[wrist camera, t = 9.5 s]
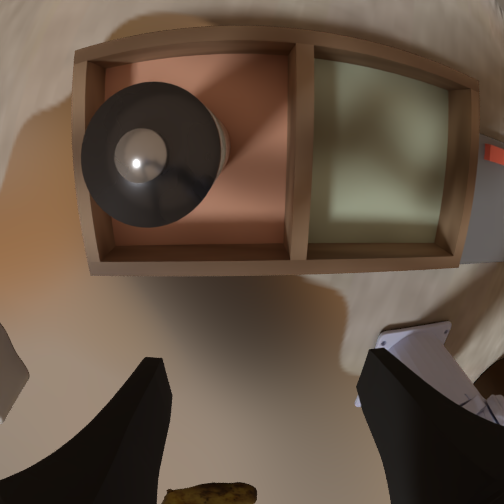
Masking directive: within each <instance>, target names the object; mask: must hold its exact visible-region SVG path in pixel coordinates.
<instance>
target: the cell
mask: <svg viewBox="0 0 504 504" xmlns="http://www.w3.org/2000/svg"><path fill="white" fill-rule="evenodd" d="M230 148H231V144H230V138H229V134H228V132H227V130H226V128H225V126H224V125H223V123H222V122H221V121H220V120H219V119H218V118H217V117H216V116H215V115H214V114H213V113H212V112H211V111H210V110H209V109H208V108H207V107H206V106H205V105H204V104H203V103H202V102H201V101H200V100H199V99H198V98H196V97H195V96H194V95H193V94H191V93H190V92H188V91H187V90H185V89H183V88H181V87H179V86H176V85H173V84H170V83H165V82H142V83H138V84H134V85H131V86H129V87H126V88H124V89H122V90H120V91H118V92H117V93H115V94H114V95H112V96H111V97H110V98H108V99H107V100H106V101H105V102H104V103H103V104H102V105H101V106H100V108H99V109H98V110H97V111H96V112H95V114H94V116H93V117H92V119H91V120H90V122H89V125H88V127H87V129H86V132H85V135H84V138H83V142H82V148H81V167H82V174H83V177H84V181H85V184H86V186H87V189H88V191H89V192H90V194H91V196H92V198H93V199H94V200H95V202H96V203H97V204H98V205H99V207H100V208H101V209H102V210H103V211H105V212H106V213H107V214H108V215H109V216H111V217H113V218H114V219H116V220H118V221H120V222H122V223H124V224H127V225H131V226H135V227H141V228H153V227H160V226H164V225H168V224H171V223H173V222H176V221H178V220H180V219H181V218H183V217H185V216H186V215H188V214H189V213H190V212H192V211H193V210H194V209H195V208H196V207H197V206H198V205H199V204H200V203H201V202H202V200H203V199H204V198H205V197H206V195H207V193H208V192H209V190H210V189H211V187H212V185H213V184H214V182H215V181H216V179H217V178H218V176H219V175H220V173H221V171H222V170H223V168H224V167H225V165H226V163H227V161H228V159H229V155H230Z"/></svg>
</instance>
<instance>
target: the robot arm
mask: <svg viewBox="0 0 504 504" xmlns="http://www.w3.org/2000/svg"><path fill="white" fill-rule="evenodd" d="M451 326H452V323H451V322H450V321H444V322H439V323H434V324H428V325H422V326H416V327H410V328H403V329H397V330H390V331H384V332H382V333H381V334H380V335H379V337H378V340H377V343H376V346H375V349H369V351H368V355H367V358H366V361H365V364H364V367H363V369H362V372H361V375H360V378H359V381H358V383H357V386H356V388H357V392H358V396H357V398H356V401H355V405H356V407H362V410H363V413H364V416H365V418H366V421H367V423H368V426H369V428H370V431H371V433H372V436H373V438H374V441H375V443H376V445H377V448H378V451H379V453H380V456H381V459H382V462H383V466H384V470H385V474H386V479H387V483H388V488H389V494H390V500H391V504H504V397H503V396H502V395H496V396H495V395H491V396H490V397H489V398H488V399H487V400H486V399H484V398H483V397H482V396H481V394H480V393H479V392H478V390H477V389H476V387H475V386H474V385H473V383H472V382H471V380H470V379H469V378H468V376H467V375H466V374H465V372H464V371H463V370H462V368H461V367H460V366H459V364H458V363H457V362H456V360H455V359H454V358H453V357H452V355H451V354H450V353H449V351H448V350H447V349H446V348H445V346H444V343H445V340H446V338H447V336H448V334H449V331H450V329H451ZM383 341H384V342H383ZM171 406H172V393H171V389H170V385H169V382H168V378H167V374H166V371H165V367H164V363H163V359H162V358H152V357H145V358H144V359H143V360H142V362H141V363H140V364H139V365H138V367H137V368H136V369H135V371H134V372H133V373H132V375H131V376H130V377H129V378H128V380H127V381H126V382H125V383H124V385H123V386H122V387H121V388H120V390H119V391H118V392H117V393H116V394H115V396H114V397H113V398H112V399H111V400H110V402H109V403H108V404H107V405H106V406H105V407H104V408H103V409H102V410H101V411H100V412H99V413H98V415H97V416H96V417H95V418H94V419H93V420H92V421H91V422H90V423H89V424H88V425H87V426H86V427H84V428H83V429H82V430H81V431H80V432H79V433H78V434H77V435H76V436H74V437H73V438H72V439H71V440H69V441H68V442H67V443H66V444H64V445H63V446H62V447H61V448H59V449H58V450H56V451H55V452H54V453H52V454H51V455H49V456H48V457H46V458H45V459H43V460H41V461H39V462H38V463H36V464H35V465H33V466H31V467H29V468H27V469H25V470H23V471H21V472H19V473H16V474H14V475H12V476H10V477H7V478H5V479H2V480H0V504H157V488H158V477H159V470H160V465H161V461H162V456H163V451H164V446H165V441H166V437H167V432H168V428H169V423H170V416H171Z"/></svg>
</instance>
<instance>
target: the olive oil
mask: <svg viewBox="0 0 504 504" xmlns="http://www.w3.org/2000/svg"><path fill="white" fill-rule="evenodd" d="M473 385H474V386H475V387H476V389H477V390H478V392H479V393H480V394H481V396H482V397H483V398H484V399H486V400H487V399H488V398H489V397H490V396H491V395H495V396H496V395H502V396H503V397H504V359H501V360H499V361H498V362H496V363H495V364H493V365H492V366H491V367H490V368H489V369H487V370H486V371H485V372H484V373H483V374H482V375H481V376H480V377H479V378H478V380H477V381H476V382H475V383H474V384H473Z"/></svg>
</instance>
